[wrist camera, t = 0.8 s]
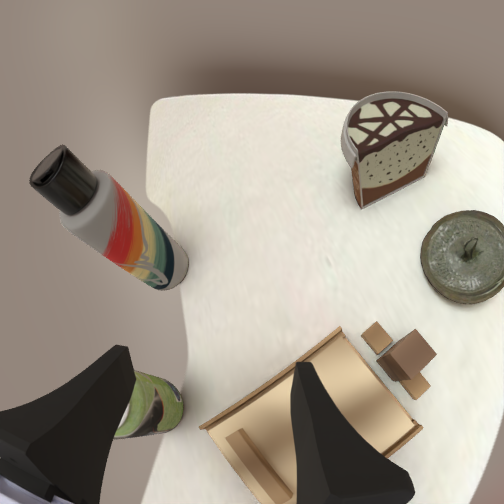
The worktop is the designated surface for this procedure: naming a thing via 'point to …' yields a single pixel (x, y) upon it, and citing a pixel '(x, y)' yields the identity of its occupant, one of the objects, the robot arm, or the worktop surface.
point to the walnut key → (407, 357)
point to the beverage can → (150, 408)
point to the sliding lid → (280, 426)
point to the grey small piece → (465, 256)
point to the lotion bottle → (109, 219)
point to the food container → (390, 142)
